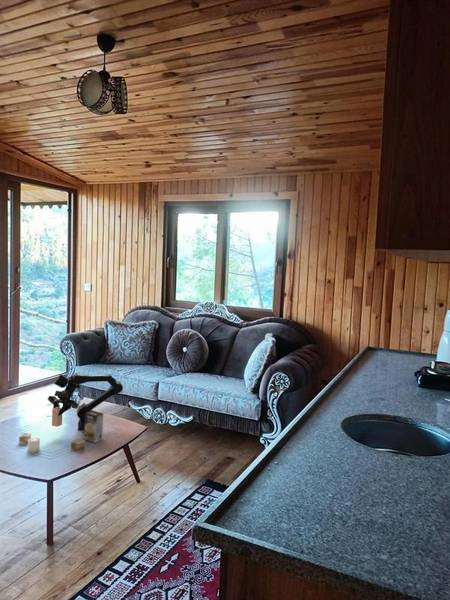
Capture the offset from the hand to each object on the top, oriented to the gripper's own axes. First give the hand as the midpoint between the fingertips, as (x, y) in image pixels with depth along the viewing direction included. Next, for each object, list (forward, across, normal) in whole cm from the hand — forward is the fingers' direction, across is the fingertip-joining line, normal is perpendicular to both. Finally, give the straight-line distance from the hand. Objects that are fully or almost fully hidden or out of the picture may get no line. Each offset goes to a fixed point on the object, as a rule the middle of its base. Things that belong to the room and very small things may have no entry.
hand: (55, 414), depth 263 cm
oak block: (+19, -10, 0) cm, 21 cm away
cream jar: (+24, +2, -4) cm, 24 cm away
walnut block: (+15, +22, +5) cm, 27 cm away
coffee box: (+4, +21, +15) cm, 26 cm away
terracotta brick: (+4, 0, +6) cm, 7 cm away
